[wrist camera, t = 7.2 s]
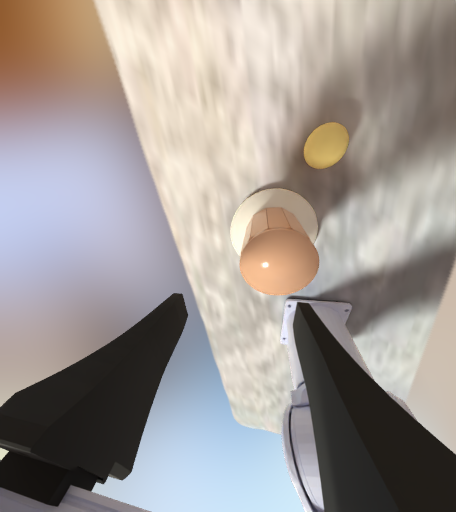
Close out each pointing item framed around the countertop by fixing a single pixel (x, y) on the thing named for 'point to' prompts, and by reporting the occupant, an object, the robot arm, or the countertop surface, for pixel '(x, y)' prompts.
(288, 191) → the dish
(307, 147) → the ball
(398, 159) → the countertop surface
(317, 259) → the cup
